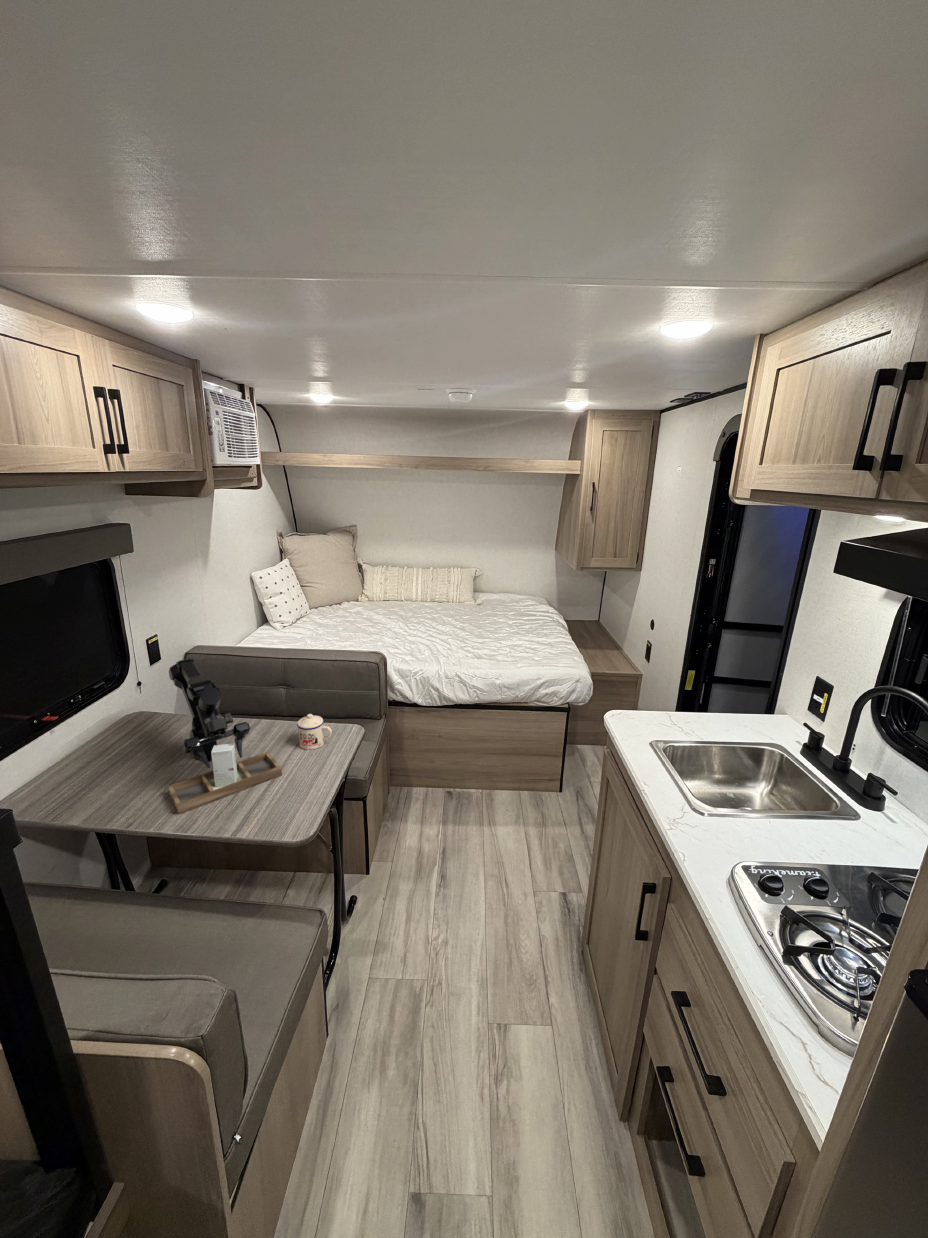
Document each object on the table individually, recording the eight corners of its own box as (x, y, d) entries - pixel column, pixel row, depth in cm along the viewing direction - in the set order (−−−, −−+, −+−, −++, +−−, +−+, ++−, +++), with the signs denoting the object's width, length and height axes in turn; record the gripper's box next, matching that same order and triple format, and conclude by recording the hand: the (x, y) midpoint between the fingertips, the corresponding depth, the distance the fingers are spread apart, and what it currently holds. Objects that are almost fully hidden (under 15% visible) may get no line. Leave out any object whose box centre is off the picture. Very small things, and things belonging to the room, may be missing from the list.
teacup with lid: (294, 750, 177) (292, 720, 174) (304, 736, 186) (302, 708, 183) (328, 751, 176) (326, 722, 173) (336, 738, 185) (334, 709, 182)
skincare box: (214, 787, 155) (209, 752, 151) (218, 779, 159) (212, 745, 155) (236, 784, 156) (231, 750, 153) (239, 776, 160) (234, 742, 157)
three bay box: (169, 794, 153) (167, 786, 152) (268, 759, 171) (267, 751, 171) (178, 814, 144) (177, 805, 143) (282, 775, 163) (281, 767, 162)
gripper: (179, 716, 147) (194, 765, 143) (244, 698, 159) (261, 743, 154) (176, 729, 155) (191, 777, 151) (239, 712, 167) (254, 755, 162)
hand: (225, 762), depth 154 cm, fingers open, 9 cm apart
